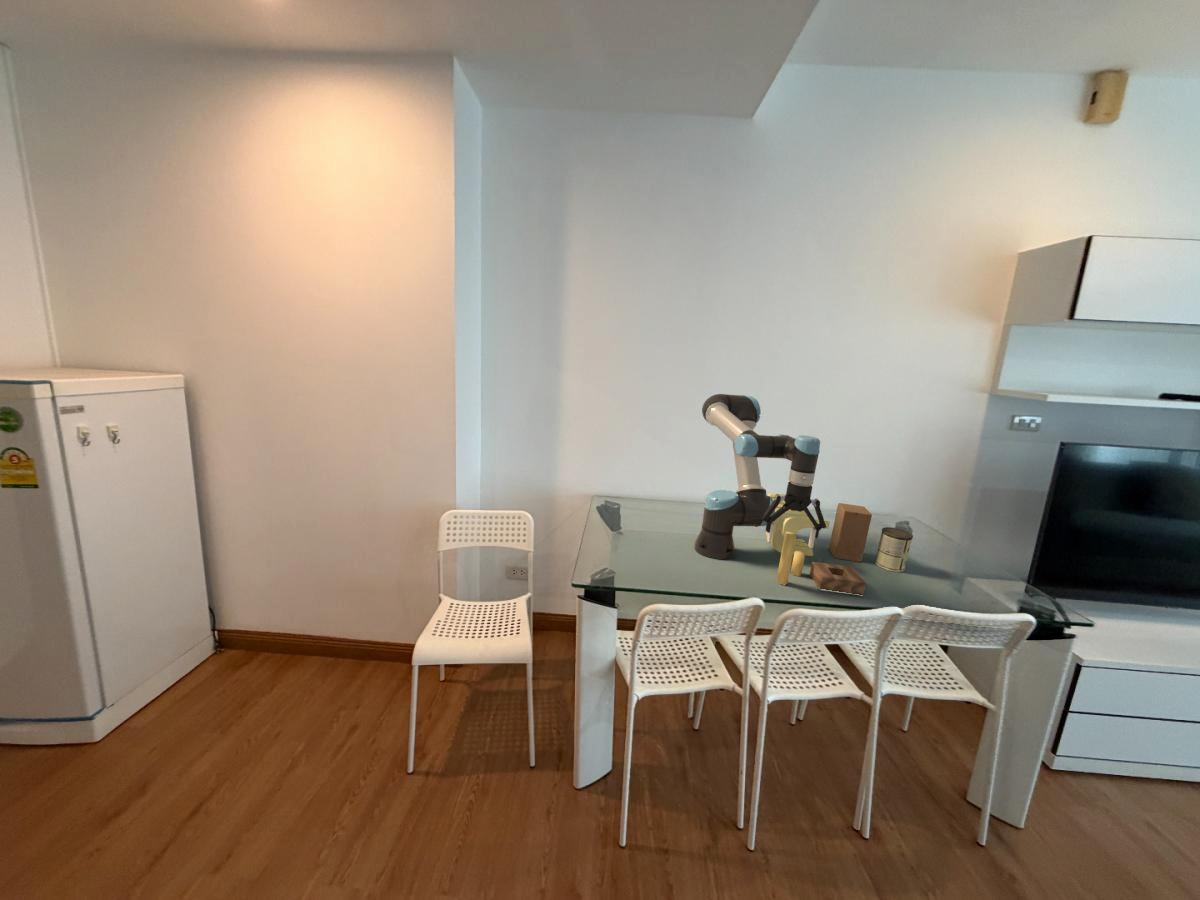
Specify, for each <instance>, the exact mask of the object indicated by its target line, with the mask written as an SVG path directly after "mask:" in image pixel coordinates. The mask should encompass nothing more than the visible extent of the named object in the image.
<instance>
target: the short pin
mask: <svg viewBox="0 0 1200 900" xmlns="http://www.w3.org/2000/svg"><path fill="white" fill-rule="evenodd" d="M805 557H806V555H805V553H803V552H800V551H795V552H794V554H793V556H792V562H791V567H790V574H791V575H792V574H793V576H795V575H796V577H801V576H802V573H803V568H804V562H805V559H806V558H805Z"/></svg>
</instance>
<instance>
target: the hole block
mask: <svg viewBox="0 0 1200 900" xmlns="http://www.w3.org/2000/svg"><path fill="white" fill-rule="evenodd" d="M809 576H810V578H811V577H812V578H813V579H812V578H811V579H812V580H814V581H815V582H814V581H813V582H814V584H815V583H816V584H817V586H818V587H819V588H820V589H826V590H832V591H839V592H846V593H852V594H859V595H863V596H864V594H865V589H866V586H867V581H865V580H864V578H863V577H862V576H861V575H860V574H859V573H858V571H857V570H856V569H855V568H854V567H853V566H846V565H840V564H835V563H834V564H832V563H825V562H816V561H811V565H810V570H809ZM816 584H815V585H816ZM817 586H816V587H817ZM818 587H817V588H818Z"/></svg>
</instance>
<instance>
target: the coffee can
mask: <svg viewBox="0 0 1200 900" xmlns="http://www.w3.org/2000/svg"><path fill="white" fill-rule="evenodd" d="M880 534H881V535H880V539H879V542H878V543H879V544H878V548H877V552H876V555H875V559H874V564H875V565H876V566H878V567H879V568H882V569H883V570H886V571H890V572H894V573H895V572H896V573H903V572H905V570H906V565H907V560H908V556H909V551H910V548H911V543H912V540H913V538H914V535H913V534H912V533H911V532H909V531H907V530H904V529H901V528H896V527H890V526H889V527H888V526H887V527H882V528H881V533H880Z"/></svg>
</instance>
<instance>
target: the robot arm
mask: <svg viewBox="0 0 1200 900" xmlns="http://www.w3.org/2000/svg"><path fill="white" fill-rule="evenodd" d="M701 413H702V417H703V418H704V420H705V421H706V423H708V424H710V425H711V426H714V427H717V429H719V430H720V432H721V433H723V434H724V435H725V436H726V437H727V438H729V440H731V441H732V449H733V455H734V456H733V457H734V463H735V464H734V465H735V473H736V479H737V486H738V488H737V490H736V491H732V490H727V489H719V490H713V491H710V492H709V493H708V494H707V495H706V497H705V502H704V508H703V515H702V516H703V517H702V523H701V529H700V532H699V534H698V535H697V537H696V539H695V540H694V541H695V542H694V548H693V549H694V550H695V551H696V553H699V554H700V555H702V556H704V557H707V558H712V559H717V560H726V559H727V560H728V559H730V558H733V557H734V556H735V551H736V550H735V549H736V547H735V542H734V541H735V540H734V536H733V535H734V533H733V532H734V528H735V527H755V528H758V527H765V533H766V532H768V536H766V542H767V543H768V544H772V543H771V539H772V533H773V527H774V524H773V522H774V521H775V520H776V519H777V518H779V517H780V516H781V515H782V514H784V513H785V512H786V511H788V510H789V509H790V510H791V511H799V512H801V511H803V510H804V511H805V513H806V514H807V516H808V517H809V519H810V520H811V522H812V523H813V525H814V526H815V527H811V528H810V533H809V540H808V543H807V544H808V545H809V547H810V548H811V549H814V543H815V540H816V539H818V538H819V534H820V531H821V530H822V529H827V528H826V524H825V521H826V520H825V519H824V516H823V513H822V509H821V501H820V500H819V498H814V499H811V497H812V492H813V491H812V490H813V485H814V479H815V474H816V470H817V464H818V459H819V454H820V447H821V440H820V439H819V438H817V437H815V436H810V435H797V436H796V437H792V436H790V435H788V434H787V435H786V434H778V435H765V434H761V435H760V434H758V433H757V432H755V431H754V429H755V428H756V426H757V423H758V422H759V421H760V418H761V416H760V415H761V406H760V403H759V401H758V400H757V399H756V398H755V397H754V396H750V395H746V394H745V395H744V394H741V395H740V394H725V393H717V394H713V395H711V396H709V397H708V398H707V399H705V401H704V403H703V405H702V409H701ZM758 458H761V459H762V458H765V459H766V458H768V459H783V460H784V459H785V460H788V461H789V462H790V461H791V464H790V470H789V475H788V481H789V482H787V486H786V493H785V494H786V495H785V497H784V496H780V495H779V494H780V493H776V496H775V499H774V500H773V499H772V498H771V497H770V496H767V495H768V493H767V490H766V488H764V487H763V486H762V482H761V476H760V475H761V474H760V469H759V468H760V467H759V462H758ZM783 500H784V501H785V504H784V505H782V507H781V508H780V509H778V510H777V511H776V512H775V509H776V507H777V506H778V505H779V503H780V502H782V501H783ZM809 505H812V506H813V508H814V510H815V513H816V516H817V519H815V517H814V516H813V514H812V513H811V510H809V508H808V507H809ZM816 520H819V523H820V524H818V523H817V522H816Z"/></svg>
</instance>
